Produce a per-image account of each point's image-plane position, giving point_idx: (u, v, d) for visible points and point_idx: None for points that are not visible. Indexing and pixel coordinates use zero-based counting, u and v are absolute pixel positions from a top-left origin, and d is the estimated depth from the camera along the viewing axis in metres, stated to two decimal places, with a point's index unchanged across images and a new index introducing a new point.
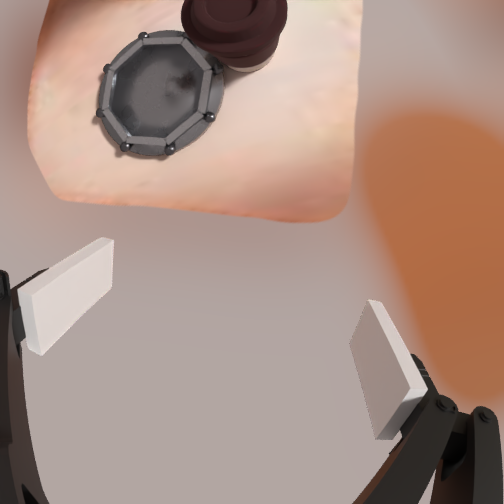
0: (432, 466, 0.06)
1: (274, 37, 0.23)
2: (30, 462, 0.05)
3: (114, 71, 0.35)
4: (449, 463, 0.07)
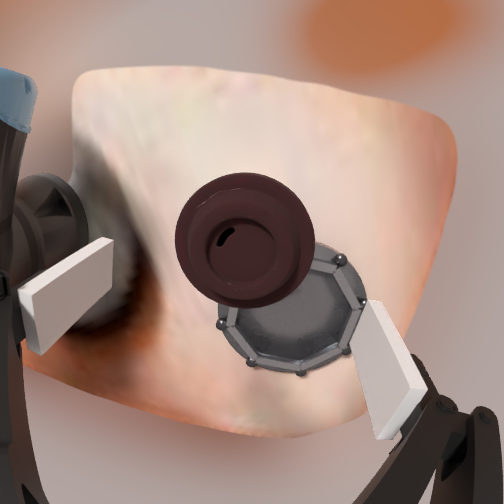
0: (432, 466, 0.06)
1: (295, 195, 0.21)
2: (30, 462, 0.05)
3: (258, 356, 0.38)
4: (449, 463, 0.07)
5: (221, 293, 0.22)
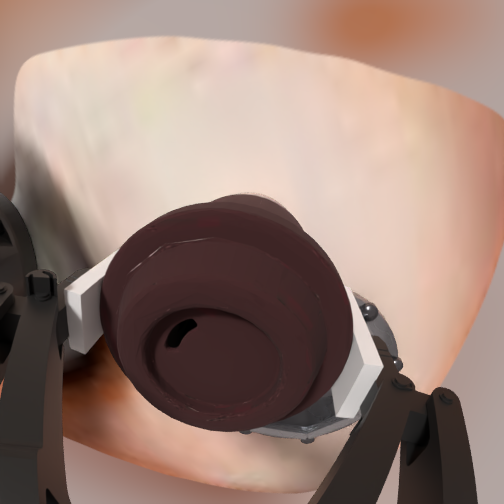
0: (394, 445, 0.06)
1: (321, 251, 0.10)
2: (59, 465, 0.05)
3: None
4: (413, 446, 0.08)
5: (182, 421, 0.11)
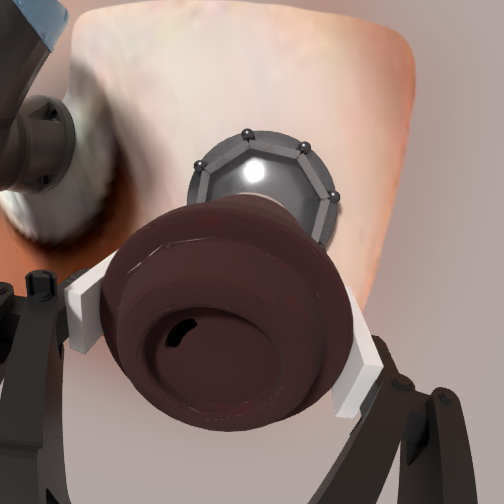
0: (394, 445, 0.06)
1: (321, 251, 0.10)
2: (59, 465, 0.05)
3: None
4: (413, 446, 0.08)
5: (181, 421, 0.11)
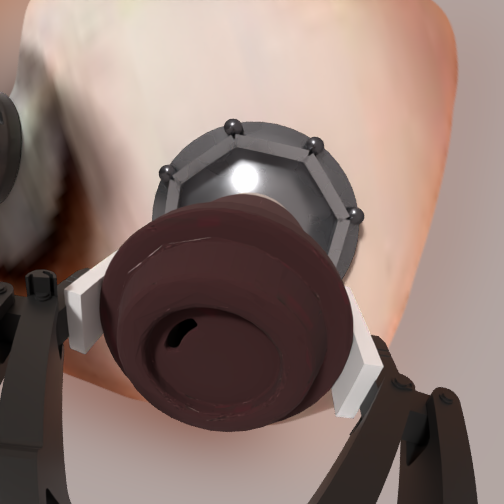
0: (394, 445, 0.06)
1: (321, 251, 0.10)
2: (59, 465, 0.05)
3: None
4: (413, 446, 0.08)
5: (181, 421, 0.11)
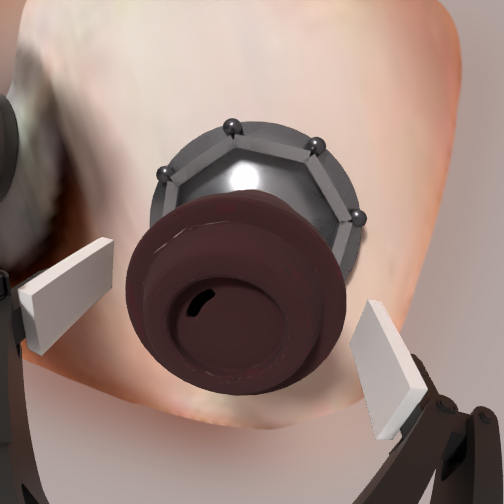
0: (432, 466, 0.06)
1: (318, 233, 0.12)
2: (30, 462, 0.05)
3: None
4: (449, 463, 0.07)
5: (197, 385, 0.13)
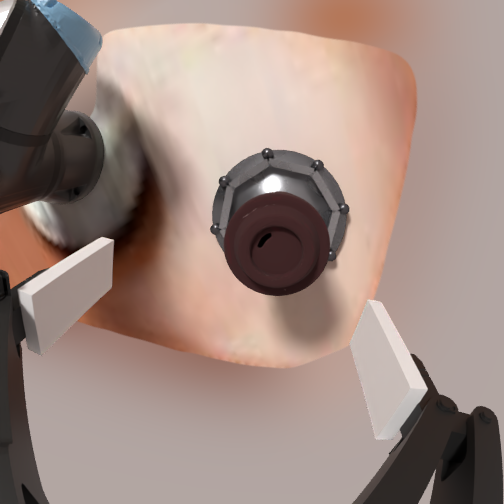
0: (432, 466, 0.06)
1: (316, 210, 0.28)
2: (30, 462, 0.05)
3: None
4: (449, 463, 0.07)
5: (260, 282, 0.29)
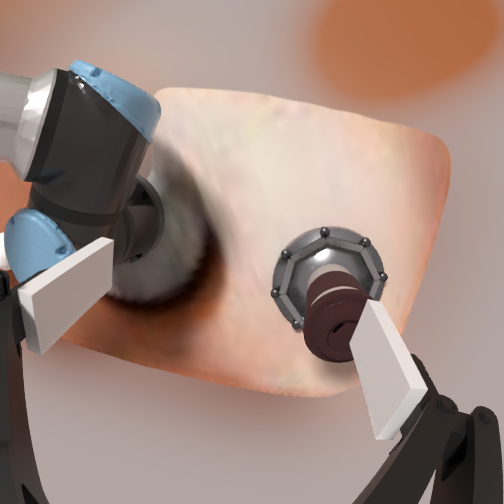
0: (432, 466, 0.06)
1: None
2: (30, 462, 0.05)
3: (302, 319, 0.50)
4: (449, 463, 0.07)
5: (332, 358, 0.35)
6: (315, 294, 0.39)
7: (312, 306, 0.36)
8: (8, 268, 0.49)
